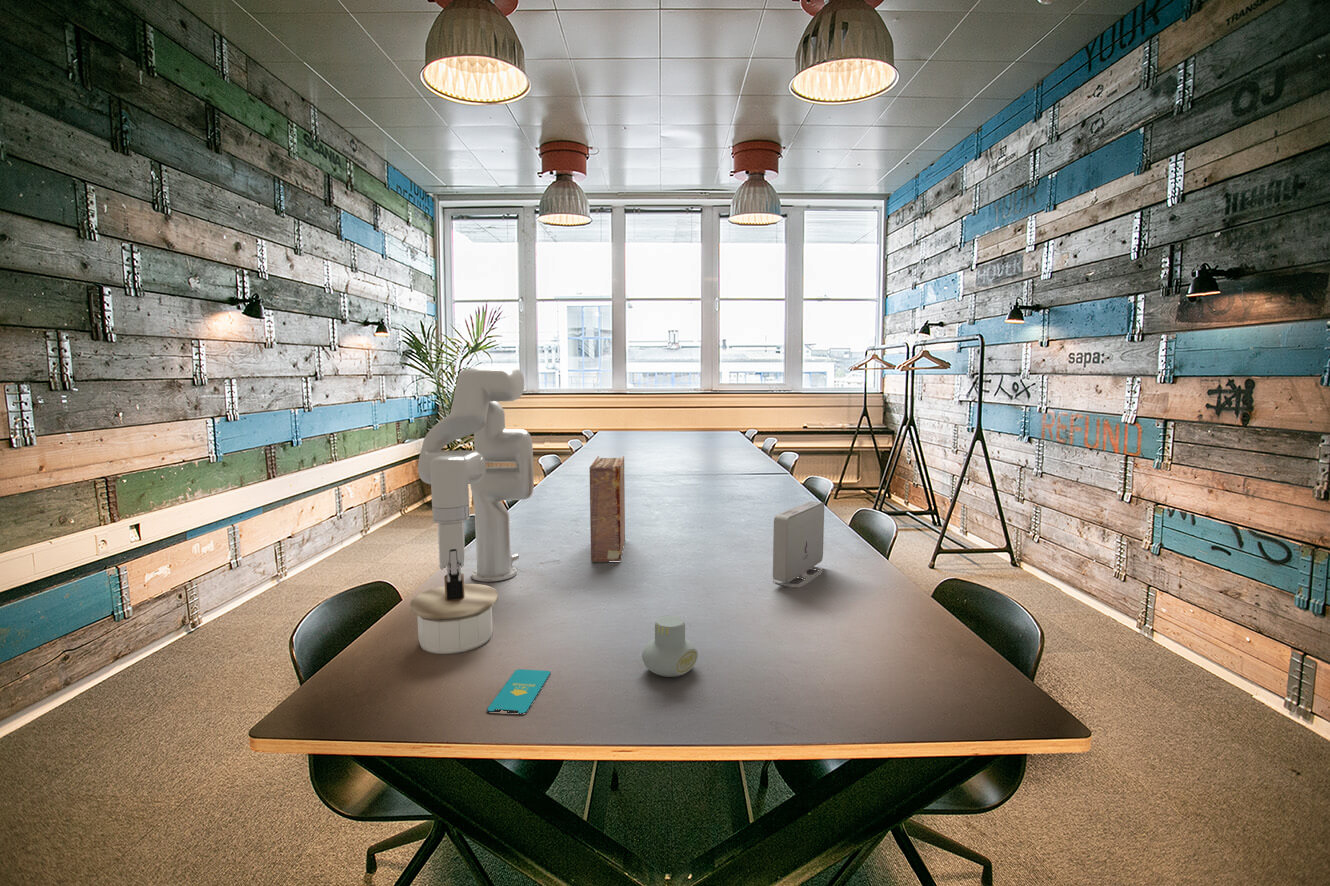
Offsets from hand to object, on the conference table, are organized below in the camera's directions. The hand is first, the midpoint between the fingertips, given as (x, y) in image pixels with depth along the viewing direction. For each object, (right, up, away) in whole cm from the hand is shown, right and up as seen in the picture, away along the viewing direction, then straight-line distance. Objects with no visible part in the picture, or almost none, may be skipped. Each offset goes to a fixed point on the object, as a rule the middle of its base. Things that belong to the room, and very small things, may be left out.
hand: (454, 594), depth 130 cm
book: (+28, -3, +66) cm, 72 cm away
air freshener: (+47, -12, -13) cm, 50 cm away
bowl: (0, -10, +1) cm, 10 cm away
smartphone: (+19, -13, -21) cm, 31 cm away
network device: (+84, -5, +41) cm, 94 cm away
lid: (0, -2, 0) cm, 2 cm away
